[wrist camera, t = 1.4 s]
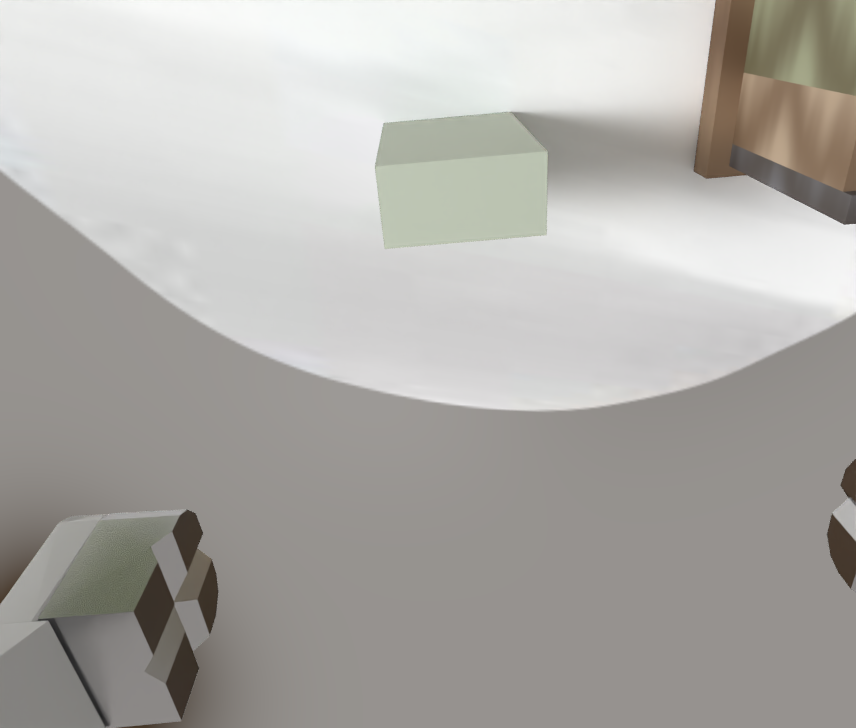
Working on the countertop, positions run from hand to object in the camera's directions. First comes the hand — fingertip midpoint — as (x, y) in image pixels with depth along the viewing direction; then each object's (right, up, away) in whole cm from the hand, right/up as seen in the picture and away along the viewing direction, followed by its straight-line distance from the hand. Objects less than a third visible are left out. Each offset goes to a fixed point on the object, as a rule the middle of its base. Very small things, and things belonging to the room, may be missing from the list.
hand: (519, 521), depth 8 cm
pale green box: (0, +12, +22) cm, 26 cm away
